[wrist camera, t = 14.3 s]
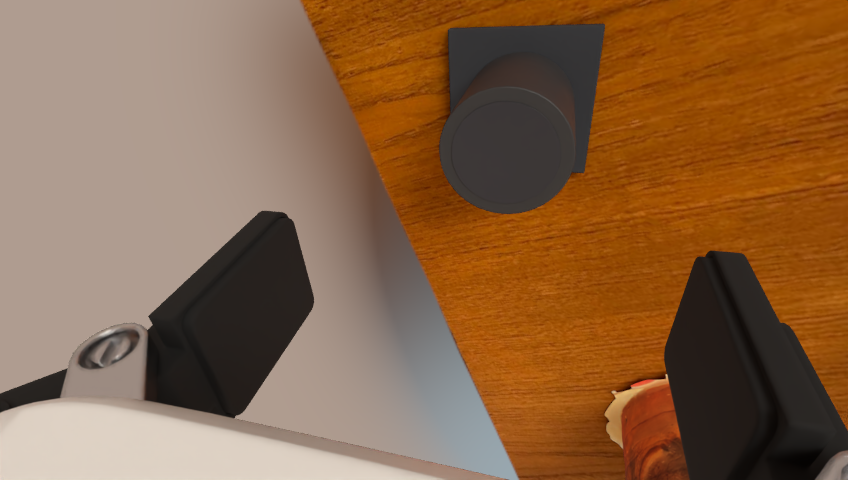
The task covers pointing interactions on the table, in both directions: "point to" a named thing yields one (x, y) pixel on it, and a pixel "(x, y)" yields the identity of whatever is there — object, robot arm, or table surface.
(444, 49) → the table surface
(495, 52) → the pad
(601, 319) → the table surface
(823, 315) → the table surface
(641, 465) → the vessel
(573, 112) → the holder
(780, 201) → the table surface
